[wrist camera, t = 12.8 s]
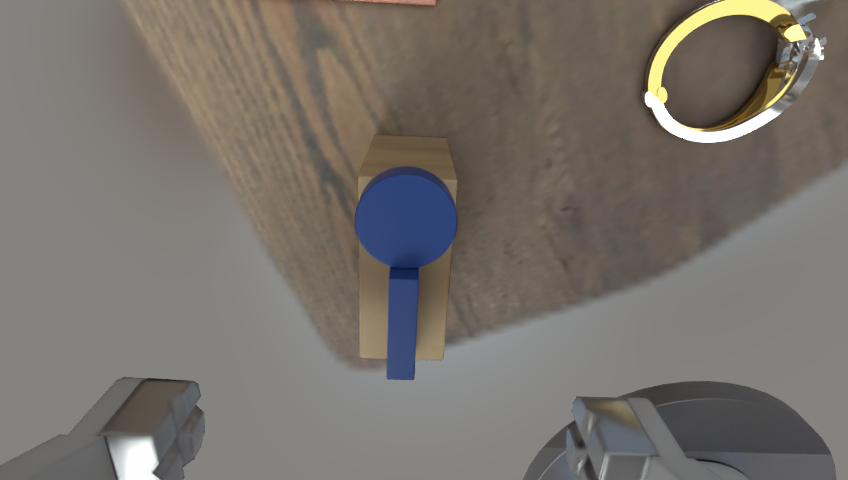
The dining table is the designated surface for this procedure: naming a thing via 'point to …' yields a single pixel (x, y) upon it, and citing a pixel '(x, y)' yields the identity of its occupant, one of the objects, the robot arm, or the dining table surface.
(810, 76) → the ring
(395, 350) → the blue spoon
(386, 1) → the terracotta tile
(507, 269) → the dining table surface
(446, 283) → the spoon stand
